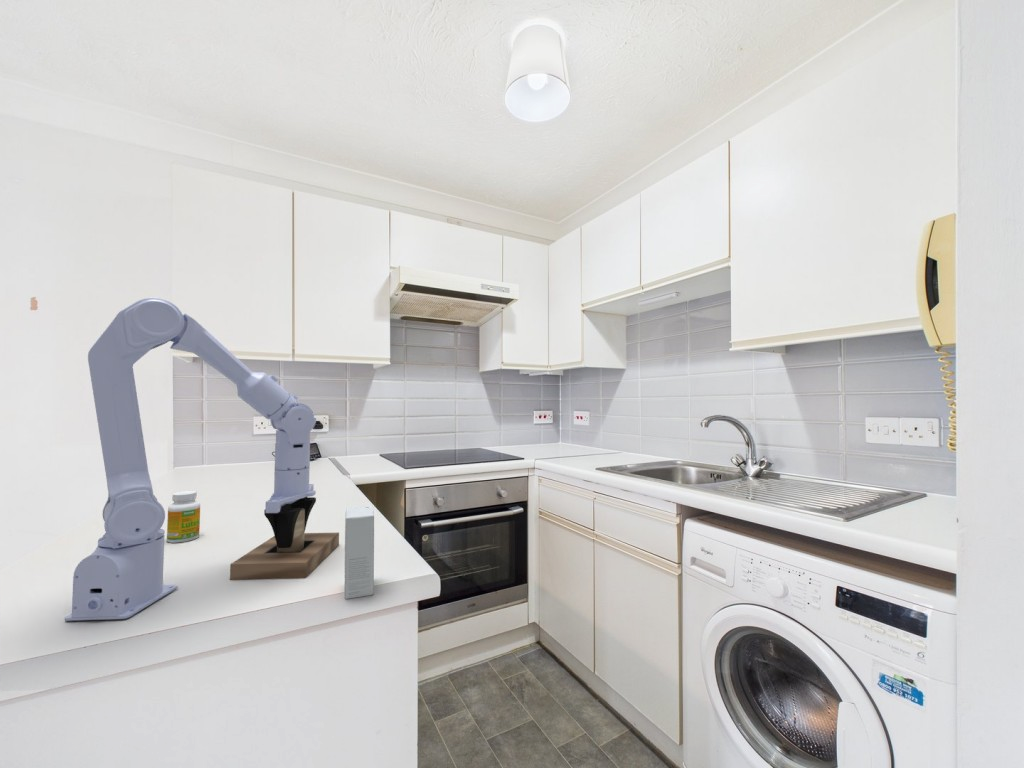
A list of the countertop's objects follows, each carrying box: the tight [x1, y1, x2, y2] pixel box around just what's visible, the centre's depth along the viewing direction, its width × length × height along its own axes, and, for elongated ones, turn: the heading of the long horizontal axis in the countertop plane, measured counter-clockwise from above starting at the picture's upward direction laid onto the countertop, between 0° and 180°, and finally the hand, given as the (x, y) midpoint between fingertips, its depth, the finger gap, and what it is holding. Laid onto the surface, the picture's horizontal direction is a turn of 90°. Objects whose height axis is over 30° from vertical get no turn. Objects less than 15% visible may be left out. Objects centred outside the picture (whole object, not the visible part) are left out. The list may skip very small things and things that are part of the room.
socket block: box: [229, 532, 340, 581], centre depth 76 cm, size 16×12×2 cm
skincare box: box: [344, 505, 375, 600], centre depth 65 cm, size 6×4×12 cm
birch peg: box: [277, 508, 305, 553], centre depth 76 cm, size 4×4×9 cm
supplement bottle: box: [166, 490, 201, 544], centre depth 88 cm, size 5×5×10 cm
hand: (290, 542), depth 76 cm, fingers closed on birch peg, 4 cm apart
